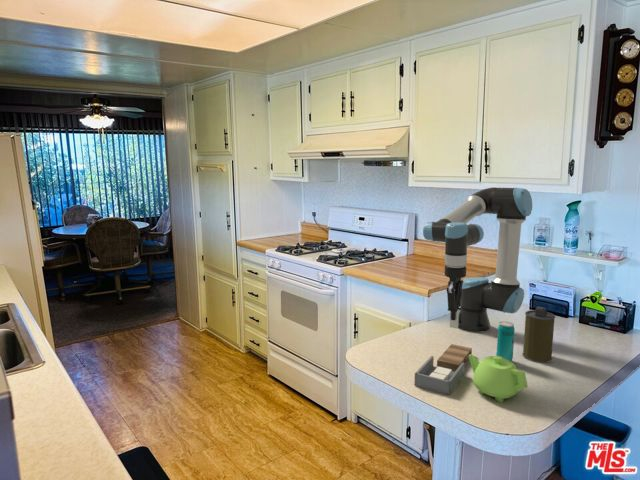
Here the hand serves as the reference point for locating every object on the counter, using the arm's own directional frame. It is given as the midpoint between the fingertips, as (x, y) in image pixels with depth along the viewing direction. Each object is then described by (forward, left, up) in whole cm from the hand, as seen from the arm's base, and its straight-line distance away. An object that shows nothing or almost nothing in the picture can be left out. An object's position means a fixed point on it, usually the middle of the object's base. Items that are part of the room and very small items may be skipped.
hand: (454, 327), depth 165 cm
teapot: (+14, +18, -15) cm, 27 cm away
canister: (-25, +26, -15) cm, 39 cm away
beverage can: (-14, +16, -15) cm, 26 cm away
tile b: (+17, 0, -12) cm, 21 cm away
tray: (+14, 0, -15) cm, 21 cm away
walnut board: (-4, 0, -15) cm, 15 cm away
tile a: (+12, 0, -14) cm, 19 cm away
